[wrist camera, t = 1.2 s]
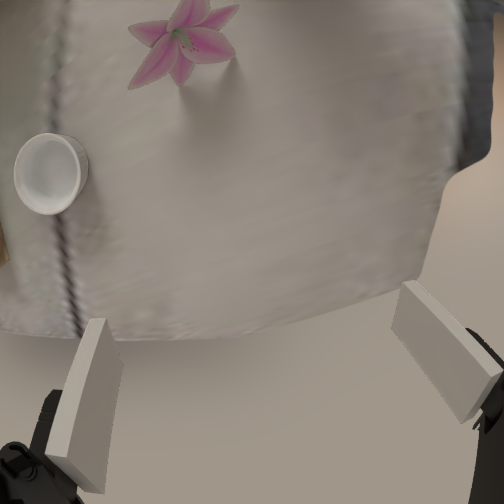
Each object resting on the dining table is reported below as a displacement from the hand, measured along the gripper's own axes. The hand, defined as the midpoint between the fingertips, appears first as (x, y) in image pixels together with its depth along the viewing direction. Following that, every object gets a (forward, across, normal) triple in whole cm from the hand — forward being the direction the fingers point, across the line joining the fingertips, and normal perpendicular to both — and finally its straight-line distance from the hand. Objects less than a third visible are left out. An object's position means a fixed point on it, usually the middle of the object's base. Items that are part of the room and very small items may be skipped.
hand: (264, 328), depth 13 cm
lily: (+25, -3, +16) cm, 30 cm away
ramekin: (+25, -19, +5) cm, 32 cm away
